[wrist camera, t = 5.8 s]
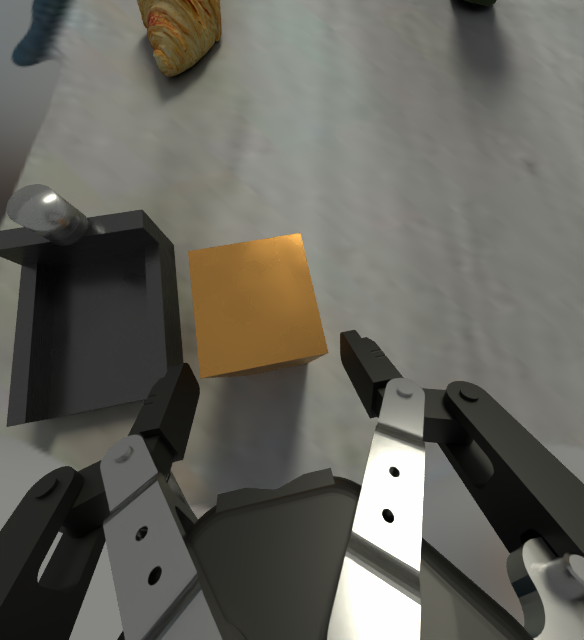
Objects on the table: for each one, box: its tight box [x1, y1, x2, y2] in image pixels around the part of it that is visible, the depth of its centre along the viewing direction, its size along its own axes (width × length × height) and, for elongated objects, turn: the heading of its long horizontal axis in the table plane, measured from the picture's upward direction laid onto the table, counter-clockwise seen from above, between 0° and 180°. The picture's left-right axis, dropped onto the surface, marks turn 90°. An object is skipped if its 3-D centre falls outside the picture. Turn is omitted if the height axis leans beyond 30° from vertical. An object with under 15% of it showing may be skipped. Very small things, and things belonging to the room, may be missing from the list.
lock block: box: [188, 233, 328, 378], centre depth 15 cm, size 6×6×10 cm
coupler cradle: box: [0, 184, 183, 427], centre depth 16 cm, size 15×11×7 cm
